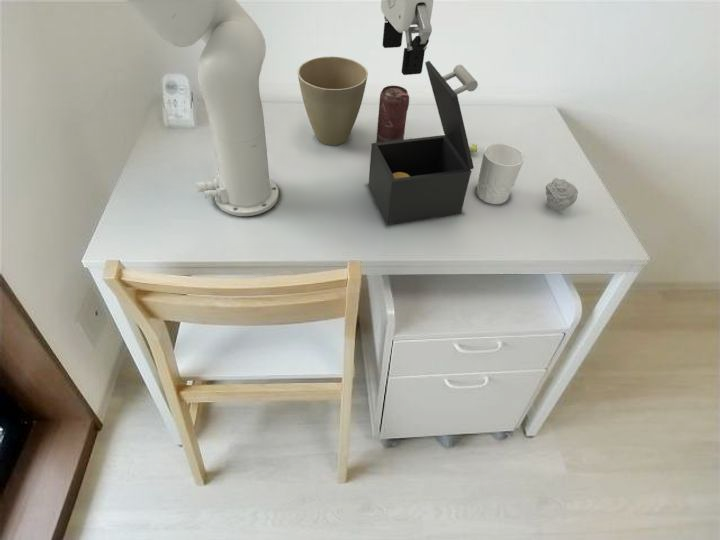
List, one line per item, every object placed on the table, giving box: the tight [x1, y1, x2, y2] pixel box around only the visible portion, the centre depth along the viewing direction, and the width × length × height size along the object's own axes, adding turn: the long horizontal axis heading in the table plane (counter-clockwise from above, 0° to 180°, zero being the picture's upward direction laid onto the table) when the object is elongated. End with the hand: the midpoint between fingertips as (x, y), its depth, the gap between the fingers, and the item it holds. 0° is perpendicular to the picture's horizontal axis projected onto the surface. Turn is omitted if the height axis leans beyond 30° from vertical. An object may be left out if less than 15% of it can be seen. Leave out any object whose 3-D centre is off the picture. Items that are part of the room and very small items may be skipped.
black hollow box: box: [367, 134, 472, 226], centre depth 103 cm, size 16×13×10 cm
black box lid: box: [424, 60, 479, 171], centre depth 95 cm, size 17×13×6 cm
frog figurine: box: [545, 177, 579, 212], centre depth 105 cm, size 6×7×7 cm
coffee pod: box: [393, 172, 410, 178], centre depth 104 cm, size 4×4×5 cm
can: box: [375, 85, 410, 143], centre depth 115 cm, size 6×6×14 cm
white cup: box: [476, 142, 525, 205], centre depth 106 cm, size 8×8×10 cm
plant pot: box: [297, 55, 369, 146], centre depth 116 cm, size 15×15×16 cm
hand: (401, 59), depth 84 cm, fingers open, 9 cm apart
